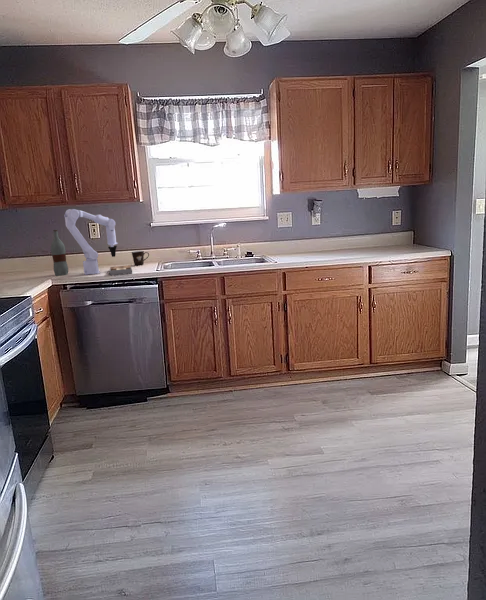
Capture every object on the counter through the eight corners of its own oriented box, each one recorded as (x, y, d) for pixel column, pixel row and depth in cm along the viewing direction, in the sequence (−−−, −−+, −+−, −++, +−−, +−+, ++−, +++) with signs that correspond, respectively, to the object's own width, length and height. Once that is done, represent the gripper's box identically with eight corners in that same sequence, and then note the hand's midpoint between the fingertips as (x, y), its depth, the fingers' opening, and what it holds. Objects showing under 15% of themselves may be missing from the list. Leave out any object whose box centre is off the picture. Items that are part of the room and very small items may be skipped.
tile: (117, 273, 301) (116, 269, 300) (116, 272, 307) (116, 268, 306) (126, 272, 302) (126, 269, 302) (126, 271, 308) (125, 267, 308)
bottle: (61, 273, 318) (55, 229, 312) (72, 273, 315) (65, 228, 308) (51, 275, 310) (44, 230, 303) (62, 275, 306) (55, 230, 300)
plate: (110, 273, 307) (109, 269, 307) (110, 270, 319) (110, 266, 318) (131, 271, 310) (131, 267, 310) (131, 268, 322) (131, 265, 321)
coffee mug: (131, 266, 334) (130, 252, 332) (134, 264, 342) (133, 250, 340) (147, 265, 333) (146, 251, 331) (150, 263, 342) (148, 250, 339)
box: (109, 275, 297) (109, 270, 296) (110, 273, 307) (109, 268, 306) (132, 273, 300) (131, 268, 299) (131, 271, 310) (131, 266, 309)
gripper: (117, 237, 307) (119, 257, 310) (117, 235, 321) (119, 255, 324) (106, 237, 306) (108, 258, 309) (107, 236, 319) (109, 255, 323)
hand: (113, 256), depth 316 cm, fingers closed
